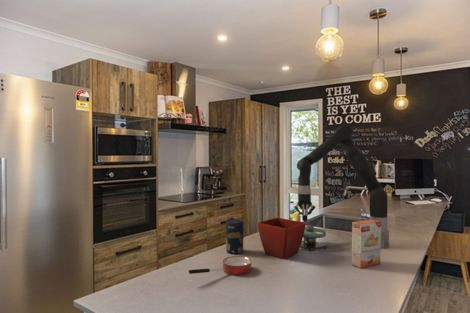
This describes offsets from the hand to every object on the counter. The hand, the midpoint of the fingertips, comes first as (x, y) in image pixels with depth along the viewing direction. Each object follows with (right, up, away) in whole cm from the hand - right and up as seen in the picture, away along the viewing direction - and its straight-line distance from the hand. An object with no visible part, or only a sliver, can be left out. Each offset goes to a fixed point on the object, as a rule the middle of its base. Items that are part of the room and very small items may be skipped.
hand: (304, 221), depth 186 cm
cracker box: (+21, -13, -37) cm, 45 cm away
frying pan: (-48, -14, -51) cm, 71 cm away
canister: (-42, -13, -17) cm, 48 cm away
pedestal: (+1, -13, -7) cm, 15 cm away
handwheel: (+1, -6, -7) cm, 9 cm away
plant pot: (-17, -13, -21) cm, 30 cm away
